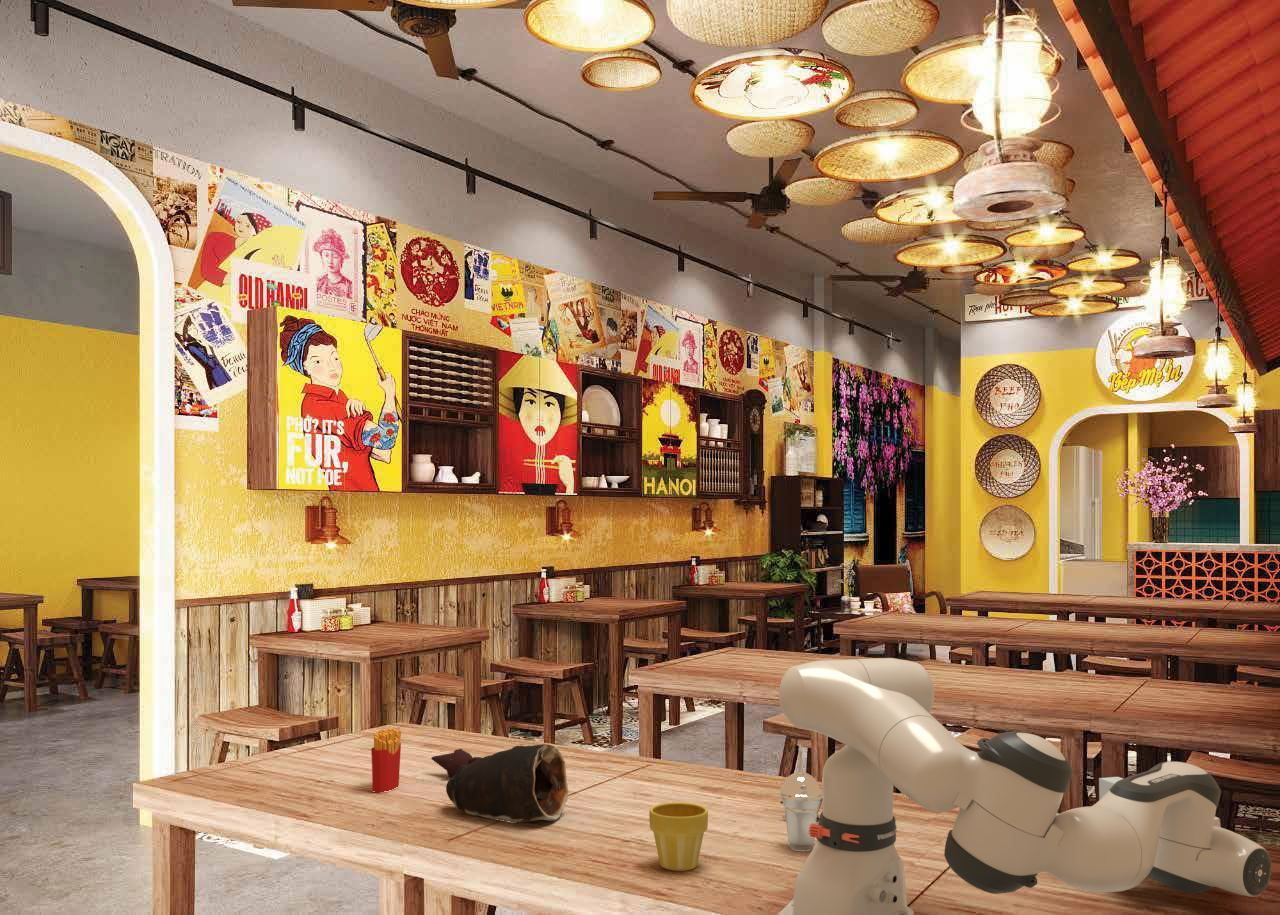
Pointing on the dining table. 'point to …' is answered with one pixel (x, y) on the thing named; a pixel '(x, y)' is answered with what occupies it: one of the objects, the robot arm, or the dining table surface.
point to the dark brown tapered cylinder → (513, 785)
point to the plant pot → (678, 833)
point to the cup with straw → (800, 807)
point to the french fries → (386, 760)
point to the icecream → (454, 761)
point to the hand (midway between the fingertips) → (1117, 817)
